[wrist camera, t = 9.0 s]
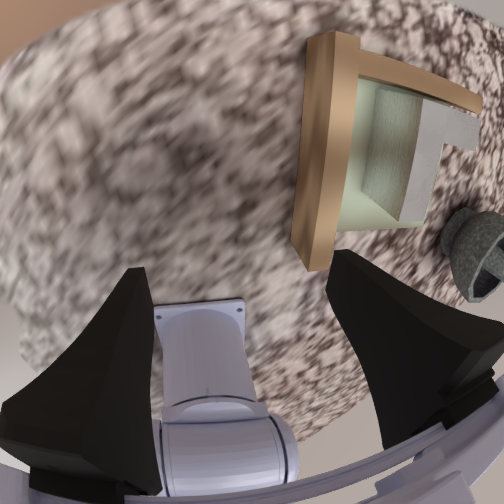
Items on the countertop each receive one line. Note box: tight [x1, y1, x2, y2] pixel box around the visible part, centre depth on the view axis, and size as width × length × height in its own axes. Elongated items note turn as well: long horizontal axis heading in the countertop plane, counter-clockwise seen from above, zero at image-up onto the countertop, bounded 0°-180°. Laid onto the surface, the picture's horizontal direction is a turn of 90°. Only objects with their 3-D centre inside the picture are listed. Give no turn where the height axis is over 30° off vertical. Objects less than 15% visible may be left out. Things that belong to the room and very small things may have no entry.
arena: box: [290, 31, 483, 272], centre depth 18 cm, size 15×14×4 cm
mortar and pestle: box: [440, 207, 504, 303], centre depth 22 cm, size 11×9×12 cm
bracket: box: [361, 89, 481, 222], centre depth 17 cm, size 8×6×5 cm
